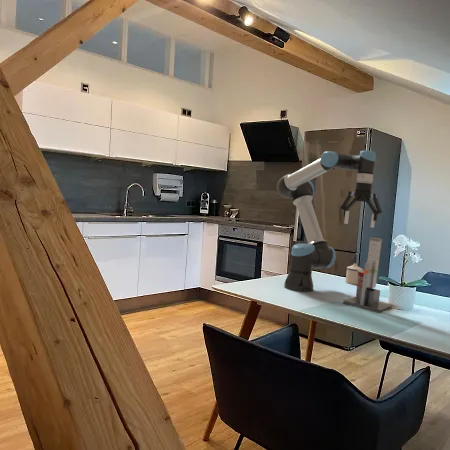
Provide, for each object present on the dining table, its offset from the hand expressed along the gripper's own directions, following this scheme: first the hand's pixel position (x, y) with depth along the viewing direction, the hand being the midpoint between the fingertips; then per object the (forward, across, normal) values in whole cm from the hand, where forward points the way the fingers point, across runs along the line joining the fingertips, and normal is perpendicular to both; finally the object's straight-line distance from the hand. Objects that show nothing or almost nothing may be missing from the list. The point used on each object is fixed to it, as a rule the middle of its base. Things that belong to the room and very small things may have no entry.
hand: (358, 225), depth 226 cm
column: (+27, +12, -7) cm, 31 cm away
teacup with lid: (+37, -18, +43) cm, 59 cm away
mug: (+37, +2, +11) cm, 39 cm away
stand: (+37, +12, -7) cm, 39 cm away
